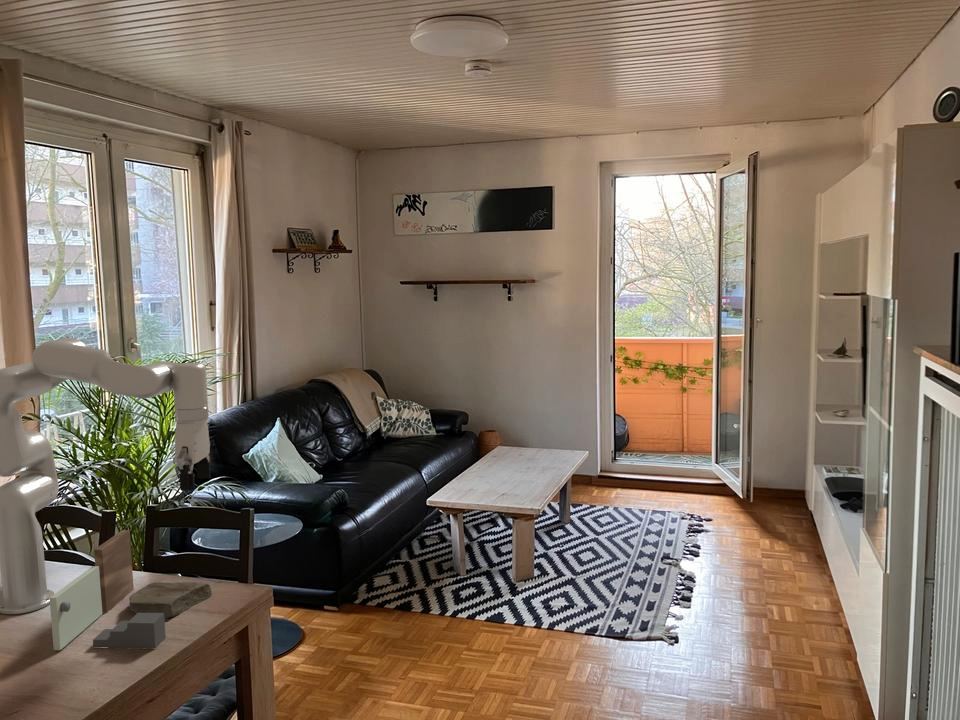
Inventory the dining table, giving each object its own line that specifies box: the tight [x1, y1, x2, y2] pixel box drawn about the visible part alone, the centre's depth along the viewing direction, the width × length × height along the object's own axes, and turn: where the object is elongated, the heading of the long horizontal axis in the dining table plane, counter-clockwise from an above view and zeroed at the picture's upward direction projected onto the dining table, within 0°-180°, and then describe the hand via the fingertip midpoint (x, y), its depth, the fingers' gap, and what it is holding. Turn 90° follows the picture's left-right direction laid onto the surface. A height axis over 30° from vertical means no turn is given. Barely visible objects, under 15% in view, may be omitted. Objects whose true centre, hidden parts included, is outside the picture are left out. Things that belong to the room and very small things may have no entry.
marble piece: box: [129, 581, 213, 620], centre depth 192 cm, size 17×15×4 cm
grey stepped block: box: [92, 613, 166, 649], centre depth 173 cm, size 14×5×6 cm, turn 88°
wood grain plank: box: [93, 529, 135, 614], centre depth 194 cm, size 2×14×16 cm, turn 178°
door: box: [49, 565, 103, 651], centre depth 177 cm, size 3×18×12 cm, turn 178°
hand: (195, 483), depth 188 cm, fingers open, 9 cm apart
